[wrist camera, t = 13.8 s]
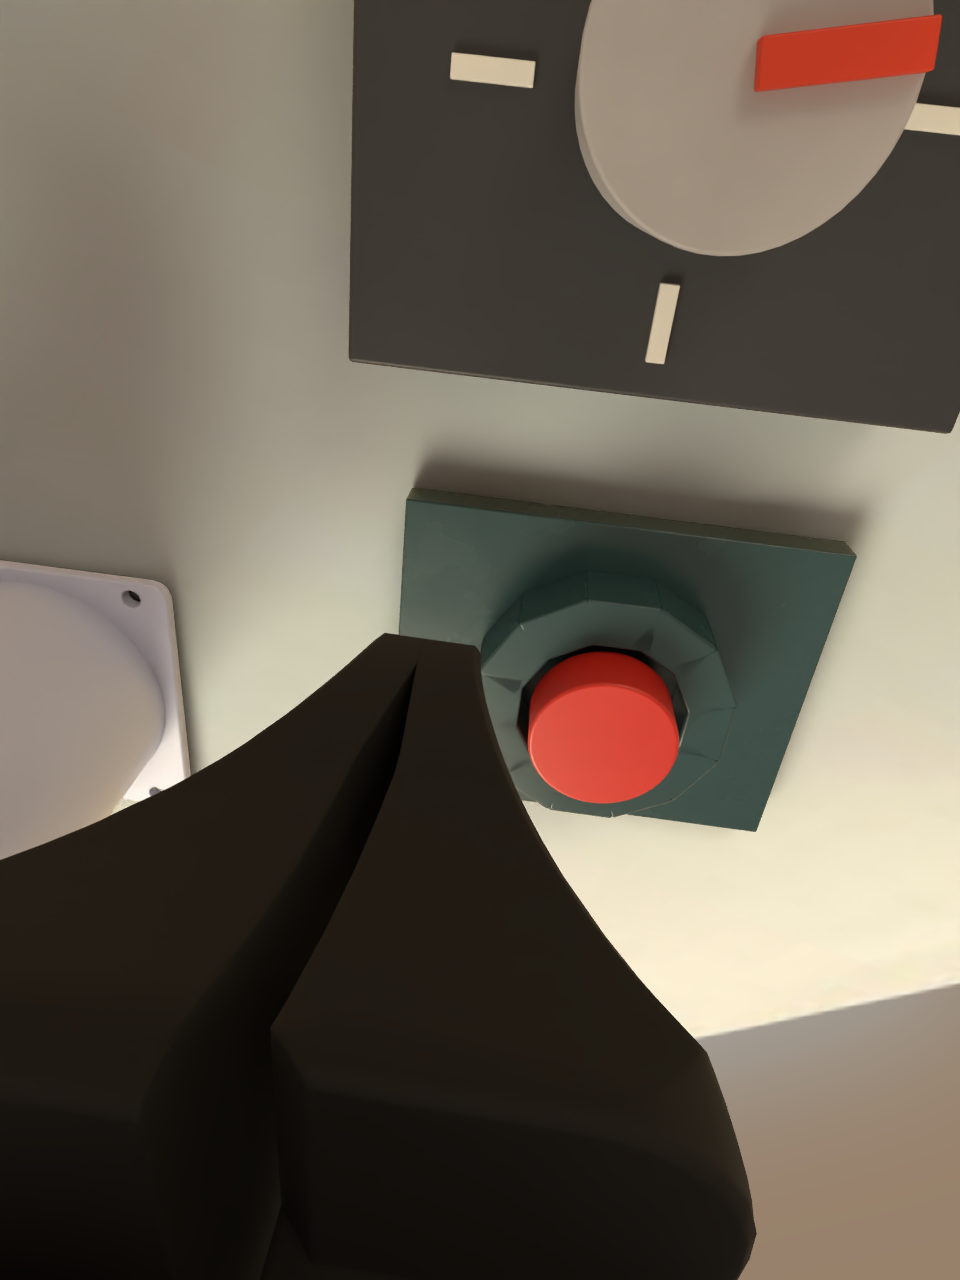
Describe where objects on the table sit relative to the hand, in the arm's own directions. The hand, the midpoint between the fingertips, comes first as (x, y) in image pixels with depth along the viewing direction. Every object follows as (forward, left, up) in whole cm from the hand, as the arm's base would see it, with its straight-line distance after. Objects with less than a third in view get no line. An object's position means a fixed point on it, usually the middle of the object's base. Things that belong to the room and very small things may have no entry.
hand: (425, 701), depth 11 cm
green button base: (+4, -5, -10) cm, 12 cm away
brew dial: (+3, +8, -7) cm, 11 cm away
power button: (+4, -5, -8) cm, 10 cm away
